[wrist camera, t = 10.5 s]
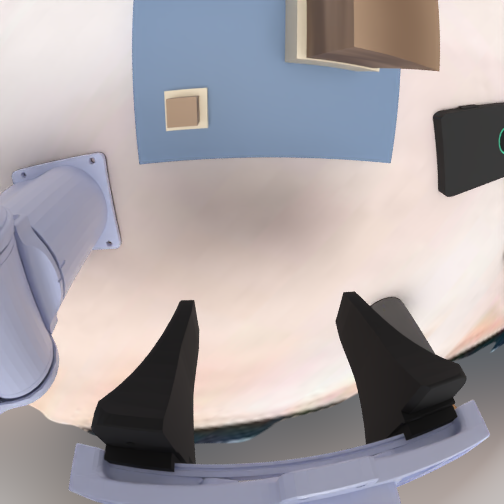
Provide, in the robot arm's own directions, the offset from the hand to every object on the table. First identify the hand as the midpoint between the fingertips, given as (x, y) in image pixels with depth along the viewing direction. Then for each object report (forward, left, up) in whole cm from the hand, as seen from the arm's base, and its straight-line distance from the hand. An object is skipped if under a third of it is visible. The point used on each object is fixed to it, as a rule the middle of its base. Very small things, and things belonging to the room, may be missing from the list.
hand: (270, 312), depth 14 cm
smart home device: (+26, +9, -11) cm, 30 cm away
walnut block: (+4, +14, -6) cm, 16 cm away
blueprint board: (+1, +13, -10) cm, 17 cm away
